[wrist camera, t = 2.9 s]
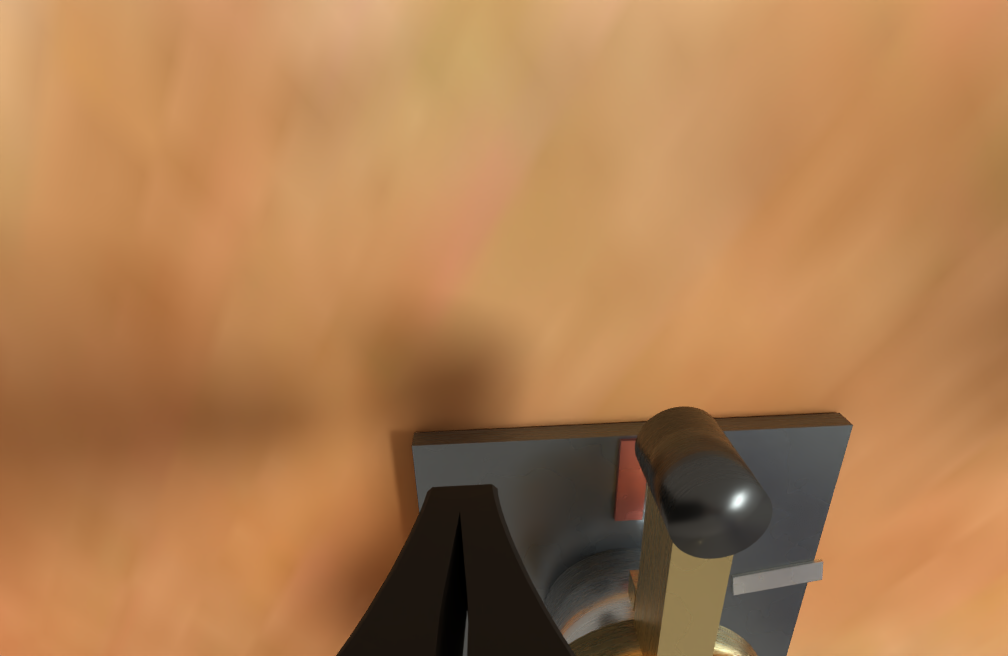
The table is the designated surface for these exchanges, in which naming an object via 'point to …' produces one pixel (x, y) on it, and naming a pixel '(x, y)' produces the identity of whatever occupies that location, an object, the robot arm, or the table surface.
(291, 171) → the table surface
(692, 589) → the brass lever handle
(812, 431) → the dark grey plate
